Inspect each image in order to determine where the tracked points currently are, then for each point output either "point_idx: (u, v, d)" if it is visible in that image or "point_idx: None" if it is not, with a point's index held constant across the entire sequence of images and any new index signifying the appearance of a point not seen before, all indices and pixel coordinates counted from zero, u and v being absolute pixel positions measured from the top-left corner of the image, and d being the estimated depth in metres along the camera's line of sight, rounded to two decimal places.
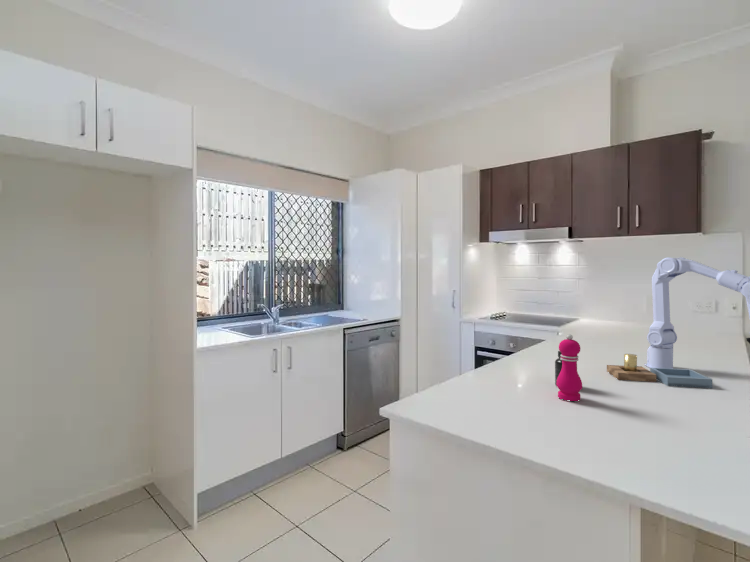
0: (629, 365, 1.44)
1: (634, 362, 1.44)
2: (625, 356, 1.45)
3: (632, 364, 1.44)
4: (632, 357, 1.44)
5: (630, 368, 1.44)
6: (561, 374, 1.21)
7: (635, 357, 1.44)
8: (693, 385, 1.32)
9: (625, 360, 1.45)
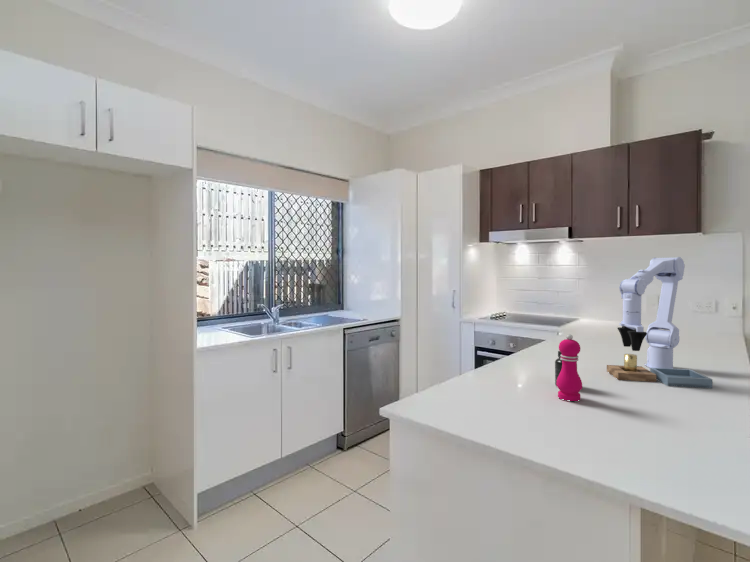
0: (629, 365, 1.44)
1: (634, 362, 1.44)
2: (625, 356, 1.45)
3: (632, 364, 1.44)
4: (632, 357, 1.44)
5: (630, 368, 1.44)
6: (561, 374, 1.21)
7: (635, 357, 1.44)
8: (693, 385, 1.32)
9: (625, 360, 1.45)
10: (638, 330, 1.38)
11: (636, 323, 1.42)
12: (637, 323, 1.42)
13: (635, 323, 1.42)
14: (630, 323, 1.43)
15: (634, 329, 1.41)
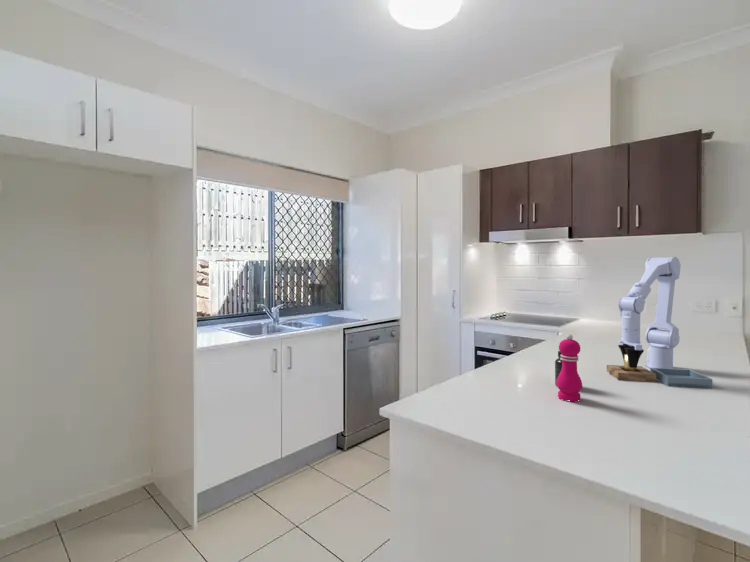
0: None
1: None
2: (625, 356, 1.45)
3: None
4: None
5: (630, 368, 1.44)
6: (561, 374, 1.21)
7: None
8: (693, 385, 1.32)
9: (625, 360, 1.45)
10: (636, 348, 1.39)
11: (635, 341, 1.43)
12: (635, 340, 1.43)
13: (634, 341, 1.43)
14: (629, 341, 1.43)
15: (633, 347, 1.42)
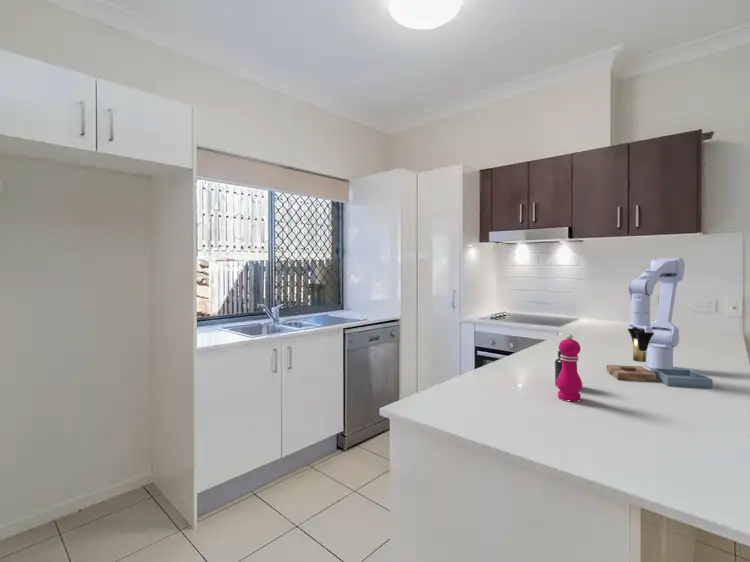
0: (638, 349, 1.43)
1: None
2: (634, 340, 1.44)
3: None
4: None
5: (639, 352, 1.43)
6: (561, 374, 1.21)
7: None
8: (693, 385, 1.32)
9: (634, 344, 1.44)
10: (647, 331, 1.37)
11: (645, 324, 1.41)
12: (645, 323, 1.41)
13: (644, 324, 1.41)
14: (639, 324, 1.42)
15: (643, 330, 1.40)
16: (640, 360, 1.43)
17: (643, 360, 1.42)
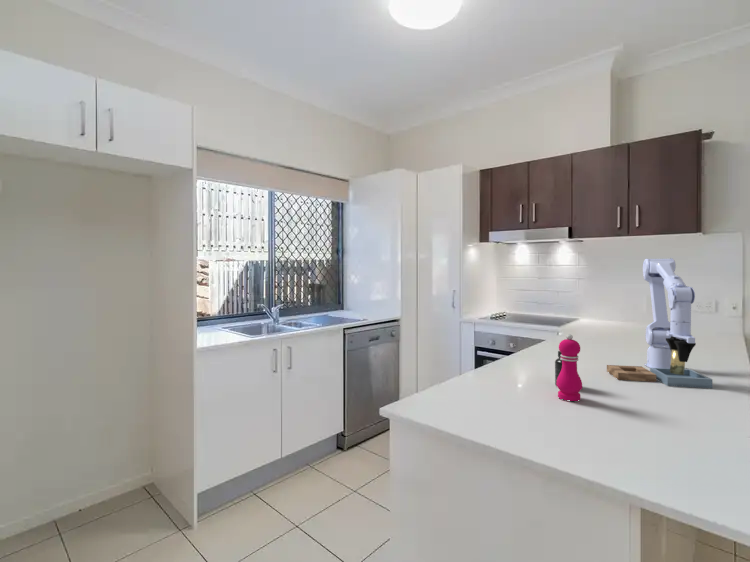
0: (676, 361, 1.37)
1: None
2: (672, 351, 1.39)
3: None
4: None
5: (677, 364, 1.37)
6: (561, 374, 1.21)
7: None
8: (693, 385, 1.32)
9: (672, 355, 1.39)
10: (689, 341, 1.31)
11: (686, 334, 1.35)
12: (686, 333, 1.35)
13: (685, 334, 1.35)
14: (679, 333, 1.36)
15: (684, 340, 1.34)
16: (677, 372, 1.37)
17: (681, 373, 1.37)
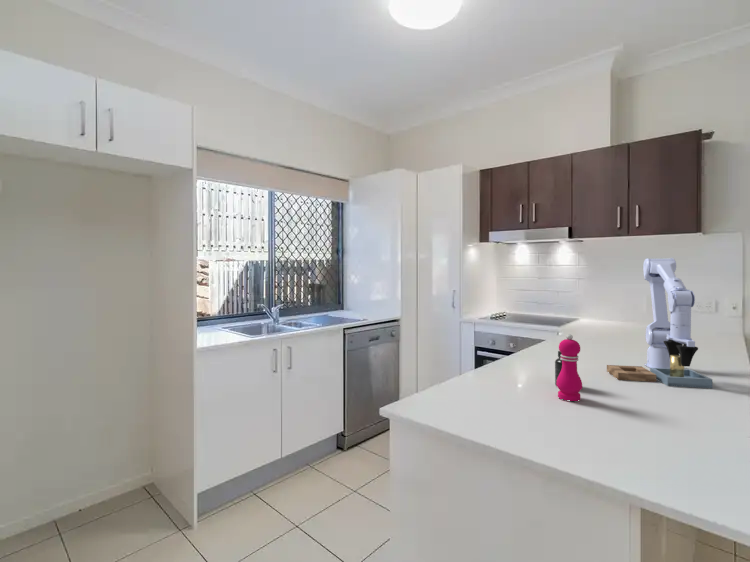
0: (675, 367, 1.37)
1: None
2: (671, 357, 1.39)
3: (679, 366, 1.37)
4: (679, 358, 1.37)
5: (676, 370, 1.37)
6: (561, 374, 1.21)
7: None
8: (693, 385, 1.32)
9: (671, 361, 1.39)
10: (689, 345, 1.31)
11: (686, 337, 1.35)
12: (686, 337, 1.35)
13: (685, 337, 1.35)
14: (679, 337, 1.36)
15: (684, 343, 1.34)
16: None
17: None
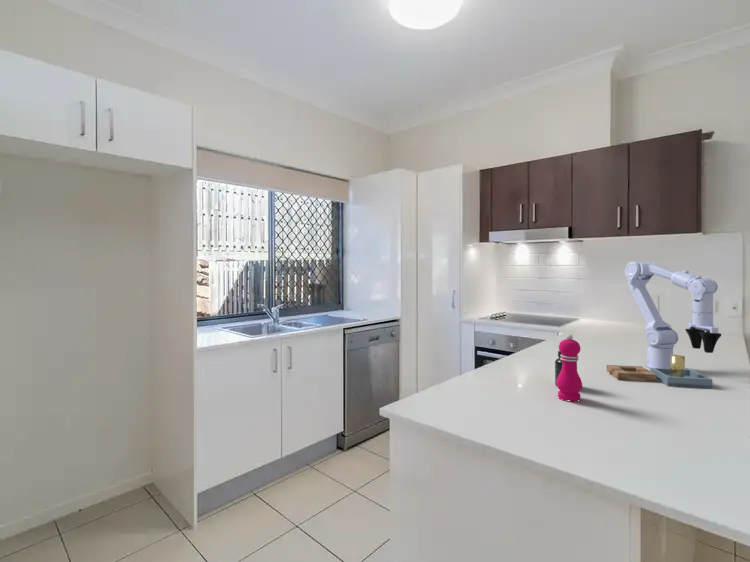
0: (675, 367, 1.38)
1: (681, 363, 1.37)
2: (672, 357, 1.39)
3: (679, 366, 1.37)
4: (679, 358, 1.37)
5: (676, 369, 1.37)
6: (561, 374, 1.21)
7: (683, 358, 1.37)
8: (693, 385, 1.32)
9: (671, 361, 1.39)
10: (712, 331, 1.34)
11: (708, 324, 1.38)
12: (709, 324, 1.38)
13: (707, 324, 1.38)
14: (702, 324, 1.39)
15: (707, 330, 1.37)
16: None
17: None
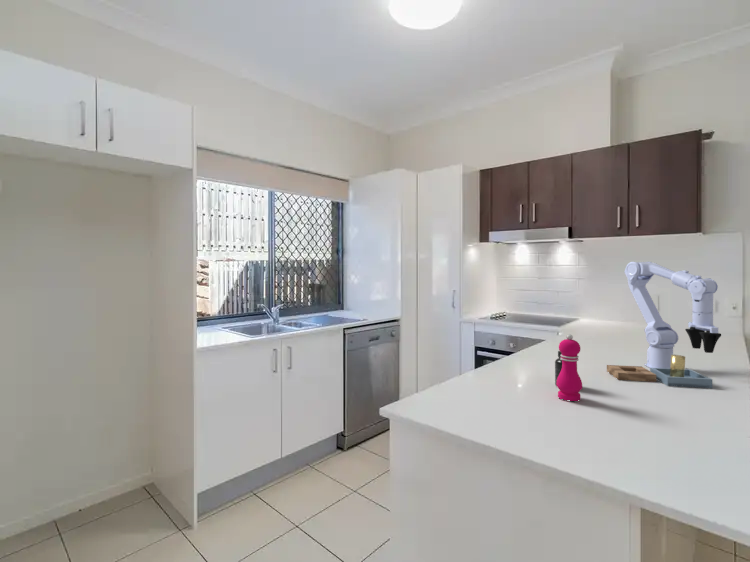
0: (675, 367, 1.37)
1: (682, 363, 1.37)
2: (672, 357, 1.39)
3: (680, 366, 1.37)
4: (680, 358, 1.37)
5: (677, 369, 1.37)
6: (561, 374, 1.21)
7: (683, 358, 1.37)
8: (693, 385, 1.32)
9: (672, 361, 1.39)
10: (712, 331, 1.34)
11: (708, 324, 1.38)
12: (709, 324, 1.38)
13: (707, 324, 1.38)
14: (702, 324, 1.39)
15: (707, 330, 1.37)
16: None
17: None
